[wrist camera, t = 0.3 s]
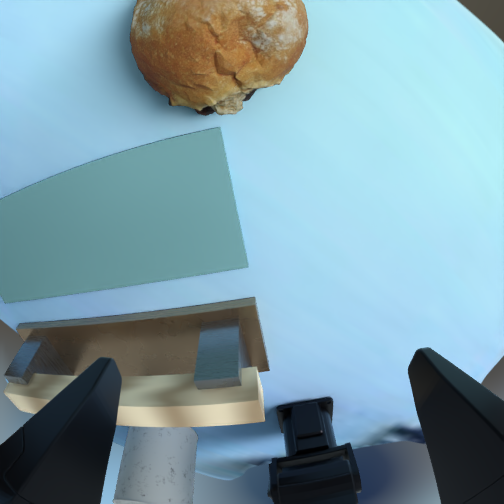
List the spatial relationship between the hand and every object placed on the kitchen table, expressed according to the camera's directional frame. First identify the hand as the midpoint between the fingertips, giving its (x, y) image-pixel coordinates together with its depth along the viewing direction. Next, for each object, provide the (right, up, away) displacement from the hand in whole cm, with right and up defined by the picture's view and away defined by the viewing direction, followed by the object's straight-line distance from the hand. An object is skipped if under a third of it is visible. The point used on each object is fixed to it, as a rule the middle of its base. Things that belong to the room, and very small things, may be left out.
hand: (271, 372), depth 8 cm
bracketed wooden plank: (-12, -6, +19) cm, 23 cm away
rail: (-12, -8, +14) cm, 20 cm away
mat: (-14, +5, +13) cm, 20 cm away
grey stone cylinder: (-13, -21, +27) cm, 36 cm away
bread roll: (-3, +17, +7) cm, 18 cm away
